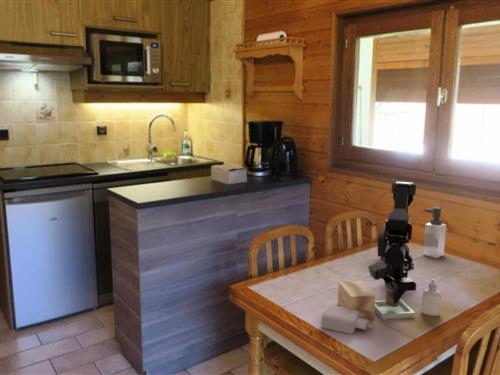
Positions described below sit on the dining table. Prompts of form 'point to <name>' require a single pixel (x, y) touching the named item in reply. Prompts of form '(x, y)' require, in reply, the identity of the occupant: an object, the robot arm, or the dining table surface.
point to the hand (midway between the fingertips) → (392, 300)
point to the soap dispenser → (434, 235)
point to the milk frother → (383, 244)
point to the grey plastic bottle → (343, 320)
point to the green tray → (393, 310)
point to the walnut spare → (390, 296)
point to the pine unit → (357, 298)
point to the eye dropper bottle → (431, 300)
